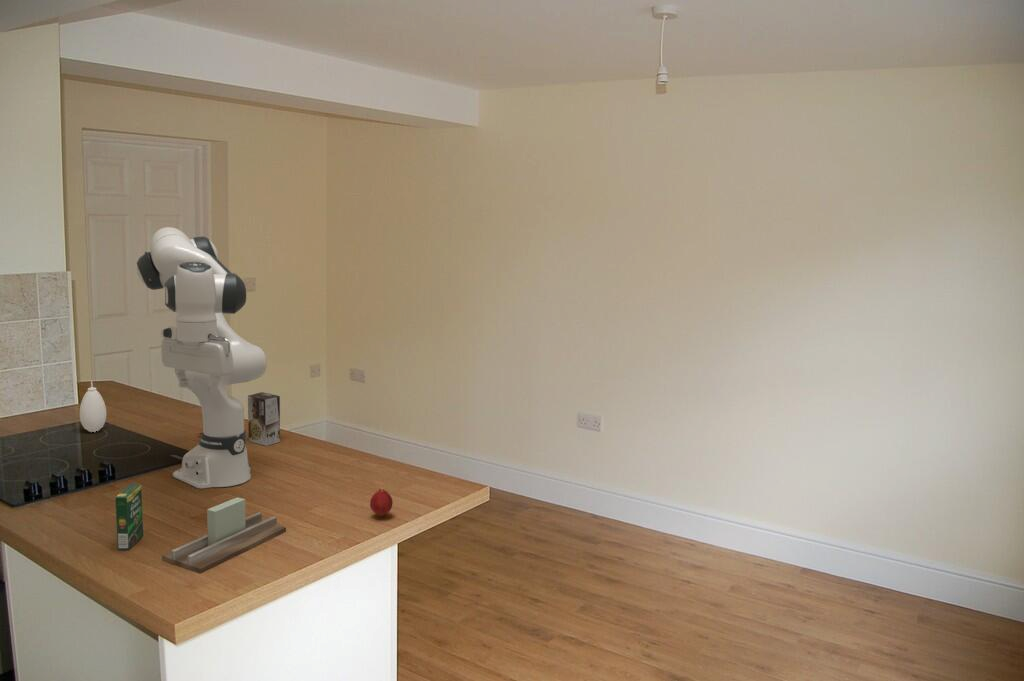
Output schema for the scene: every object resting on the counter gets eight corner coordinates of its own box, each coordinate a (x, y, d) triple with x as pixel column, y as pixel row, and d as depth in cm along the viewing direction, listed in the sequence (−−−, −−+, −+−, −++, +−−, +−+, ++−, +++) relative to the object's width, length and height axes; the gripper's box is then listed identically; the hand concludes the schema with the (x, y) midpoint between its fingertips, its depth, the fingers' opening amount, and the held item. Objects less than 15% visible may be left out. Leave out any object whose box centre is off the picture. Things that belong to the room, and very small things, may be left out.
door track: (162, 560, 169) (161, 547, 168) (249, 520, 192) (249, 509, 191) (200, 573, 163) (200, 560, 163) (286, 531, 186) (286, 519, 186)
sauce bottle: (98, 435, 255) (96, 383, 252) (75, 434, 255) (73, 382, 252) (111, 429, 262) (109, 378, 259) (89, 428, 262) (86, 377, 259)
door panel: (207, 546, 174) (207, 509, 173) (237, 532, 182) (237, 497, 181) (215, 549, 173) (215, 511, 171) (245, 535, 181) (245, 499, 179)
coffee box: (281, 442, 257) (280, 395, 254) (265, 446, 251) (265, 399, 249) (263, 437, 261) (262, 391, 259) (247, 441, 256) (247, 394, 253)
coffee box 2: (129, 551, 172) (127, 496, 170) (116, 551, 172) (114, 496, 170) (144, 536, 180) (142, 483, 178) (132, 536, 180) (129, 483, 178)
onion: (371, 512, 201) (371, 483, 199) (393, 512, 201) (393, 483, 200) (368, 520, 195) (369, 491, 194) (391, 521, 196) (392, 491, 194)
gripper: (239, 335, 176) (240, 393, 178) (177, 326, 185) (179, 381, 187) (218, 338, 170) (219, 398, 172) (155, 329, 179) (157, 386, 181)
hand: (198, 389), depth 180 cm, fingers open, 8 cm apart
